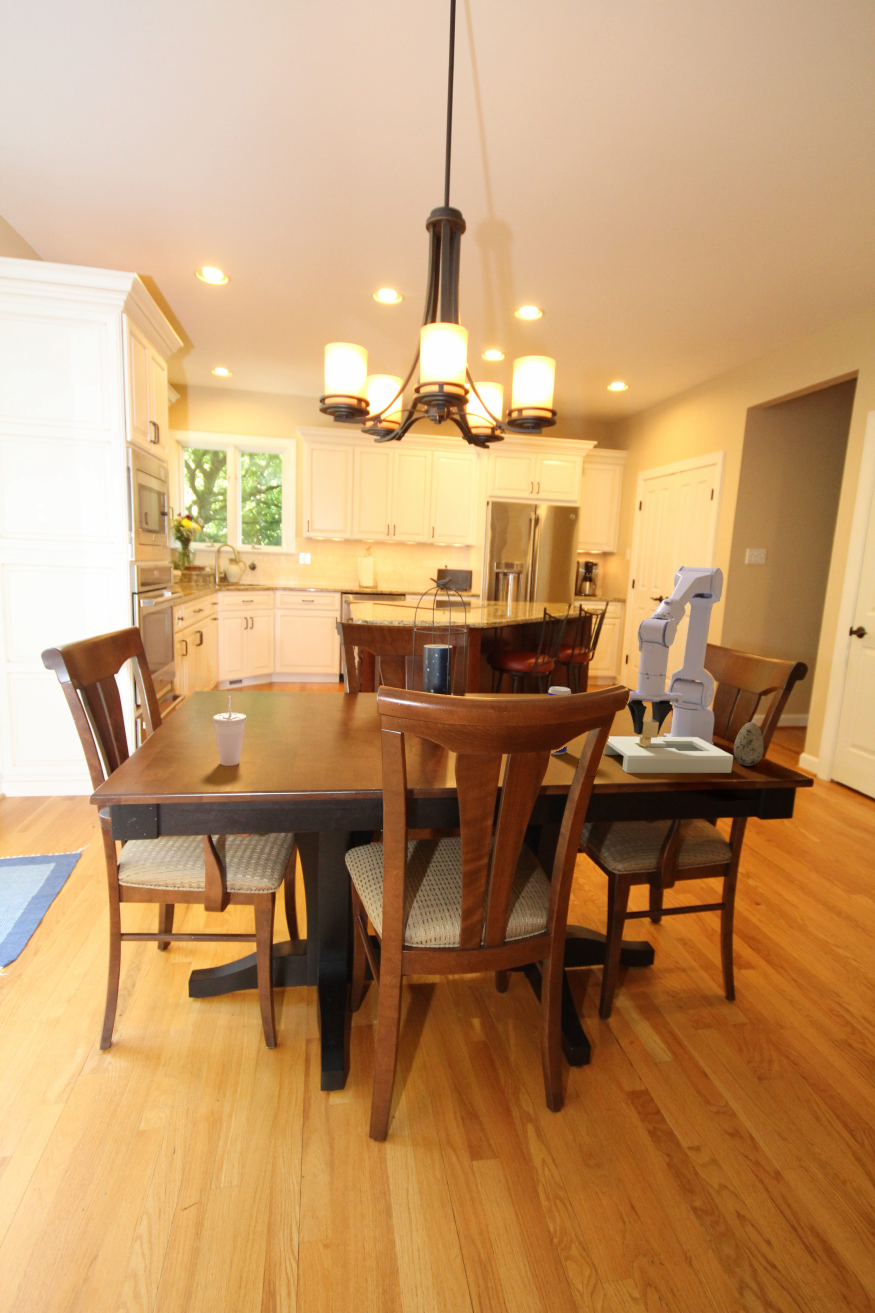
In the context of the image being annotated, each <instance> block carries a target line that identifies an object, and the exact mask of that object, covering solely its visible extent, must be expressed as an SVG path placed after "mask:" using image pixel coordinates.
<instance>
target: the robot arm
mask: <svg viewBox="0 0 875 1313" xmlns="http://www.w3.org/2000/svg"><path fill="white" fill-rule="evenodd" d="M673 579H674V581H673V583H674V589H673V591H672V593H671V594H670V596H669V597H668V598H664V599H663V600H662V601H661V602H660V603H659V605H658V606H657V608H656V609H655V610H654V612H653V613H652V614H651V616H650V618H648V617H647V618H646V619H643V620H641V622H640V623H639V627H638V631H637V640H638V651H639V652H640V658H639V666H638V667H639V668H638V676H637V685H636V686H637V688H636V690H629V691H630V700H629V703H628V704H627V703H626V705H627V707H628V710H629V713H630V716H631V721H632V725H633V733H634V734H636V735H637V736H639V735H641V732H642V725H643V718H645V714H646V710H647V708H648V707H647V706H646V705H644V702H645V703H648V702H649V703H651V709H652V715H651V716H652V717H651V718H652V719H654V720H656V721H657V722H659V725H658V733H657V736H658V735H659V734H660V731H661V728H662V726H663V723H664V722H665V720H666V718H667V717H668V715H669V714H670V712H672V719H671V727H670V728H671V729H670V733H667V732H666V733H663V737H698V738H700V739H702V740H704V741H706V742H708V743H710V744H712V745H714V741H713V734H714V727H715V713H714V711H713V709H712V708H711V707H710V706H711V705H712V702H713V700H714V696H715V688H714V687H715V686H714V683H715V679H714V677H713V676H712V675H711V674H710V673H709V672H708V671H707V670H705V668H704V667H705V660H706V654H707V653H706V652H707V646H708V639H709V638H708V637H709V633H710V631H709V630H710V623H711V617H712V609H713V606H714V604H716V603H719V602H720V601H721V598H722V593H723V586H724V574H723V571H722V569H721V568H720V567H695V566H694V567H692V566H690V567H689V566H684V565H683V566H682V565H681V566H679V567H678V568H677V569H676V571H675V573H674V578H673ZM688 603H689V605H690V611H689V617H688V618H689V620H688V625H687V626H688V627H687V634H686V639H685V650H684V656H683V663H682V667H681V668H679V669H677V670H675V671H674V672H673V673H672V674H671V677H670V681H669V684H668V687H667V691H665V690H666V680H667V672H668V663H669V662H668V661H669V654H670V653H669V652H670V648H671V646H672V645H673V644H674V642H675V638H676V634H677V631H678V625H680V622H681V621H682V620H683V618H684V616H686V608H685V606H686V605H687V604H688ZM672 710H673V711H672Z"/></svg>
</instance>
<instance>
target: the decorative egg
mask: <svg viewBox="0 0 875 1313" xmlns="http://www.w3.org/2000/svg"><path fill="white" fill-rule="evenodd" d="M764 747H765V746H764V739H763V734H762V732H761V729H760V727H759V726H758V725H757V724H756V723H755V722H751V721H749V722H746V723H745V724H744V725H743V726H742V727H741V729H740V730H739V731H738V734H737V735H736V737H735V740H734V743H733V756H734V757H735V759H736V761H737V762H738V763H739V764H741V765H743V766H747V767H751V766H754V765H756V764H758V763H759V762H760V761H761V759H762V757H763V754H764Z"/></svg>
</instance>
